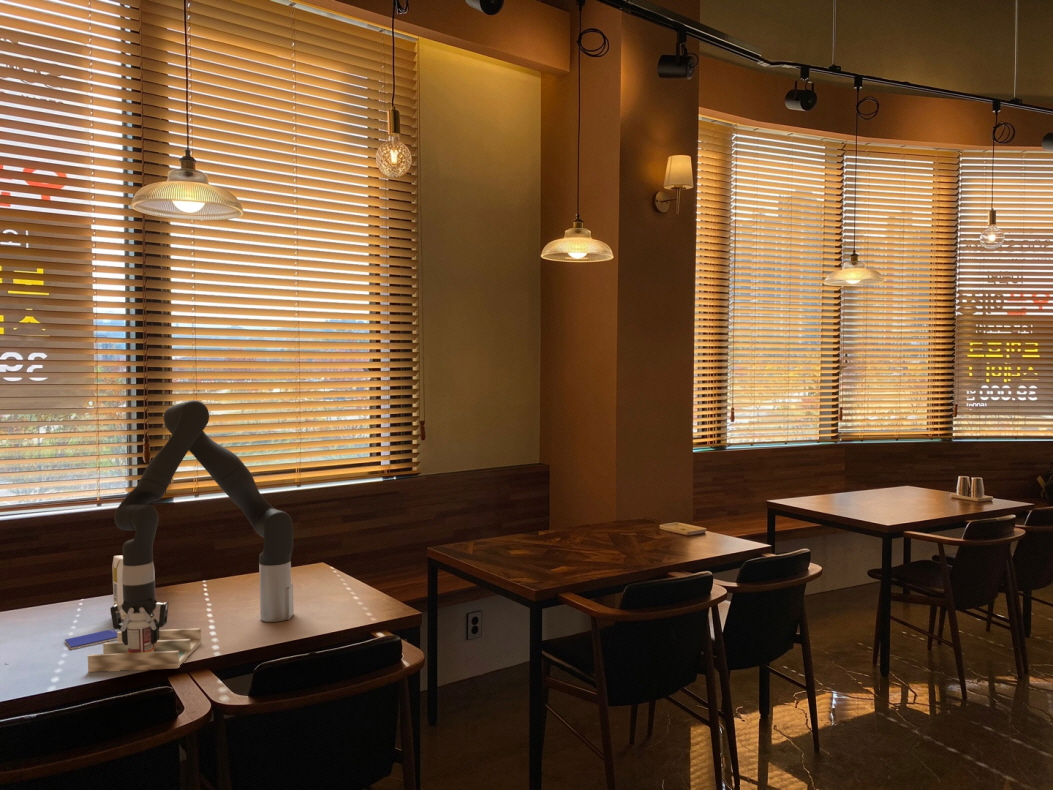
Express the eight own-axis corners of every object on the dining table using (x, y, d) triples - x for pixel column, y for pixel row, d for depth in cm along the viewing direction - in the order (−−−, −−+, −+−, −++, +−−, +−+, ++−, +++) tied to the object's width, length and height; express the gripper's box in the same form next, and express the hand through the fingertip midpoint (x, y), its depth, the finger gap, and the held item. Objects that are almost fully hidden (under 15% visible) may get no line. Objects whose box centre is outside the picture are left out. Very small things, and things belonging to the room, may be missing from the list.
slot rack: (201, 643, 216) (201, 628, 216) (178, 668, 198) (177, 652, 197) (119, 646, 214) (118, 631, 213) (88, 672, 196) (87, 656, 195)
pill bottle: (154, 647, 205) (152, 605, 205) (154, 655, 200) (153, 612, 199) (128, 651, 203) (126, 609, 202) (127, 659, 197) (126, 615, 197)
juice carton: (111, 616, 240) (109, 556, 239) (140, 609, 246) (138, 550, 246) (121, 621, 235) (119, 559, 234) (150, 614, 241) (148, 554, 241)
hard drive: (113, 628, 226) (64, 638, 218) (120, 635, 220) (70, 646, 212) (113, 633, 226) (64, 644, 218) (120, 640, 220) (70, 651, 212)
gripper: (172, 575, 205) (174, 637, 206) (116, 577, 204) (118, 639, 204) (162, 582, 198) (164, 647, 198) (103, 585, 196) (105, 650, 197)
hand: (140, 643), depth 201 cm, fingers closed on pill bottle, 6 cm apart
